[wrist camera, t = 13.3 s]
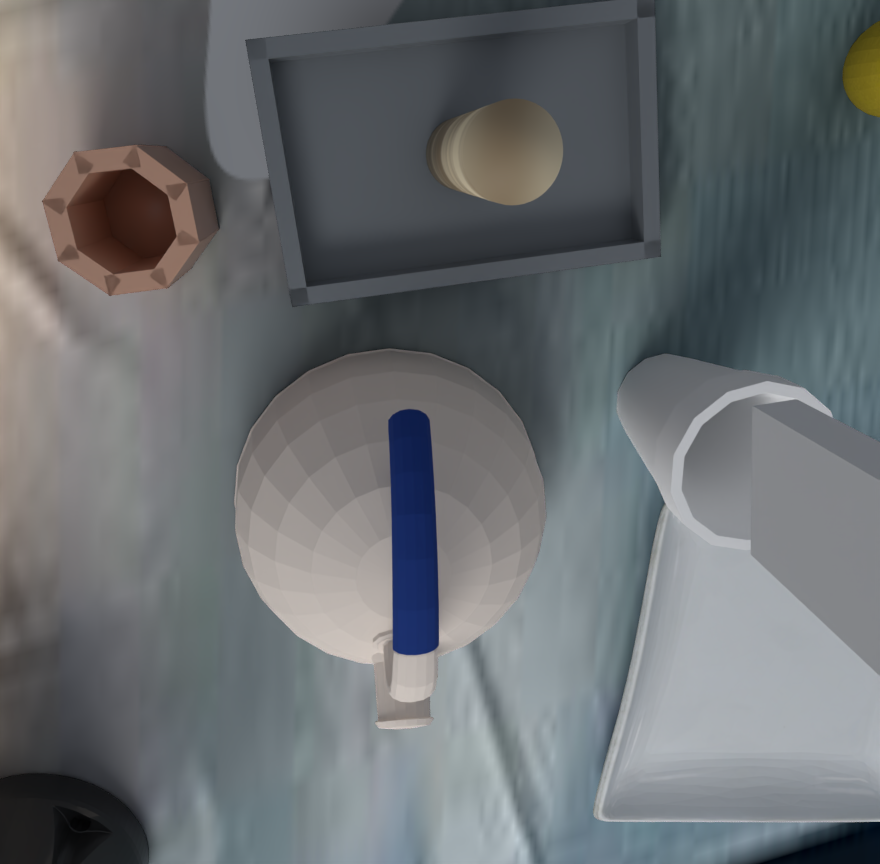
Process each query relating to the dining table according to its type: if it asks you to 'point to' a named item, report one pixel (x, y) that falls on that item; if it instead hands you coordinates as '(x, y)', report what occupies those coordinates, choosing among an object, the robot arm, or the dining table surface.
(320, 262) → the tray
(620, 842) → the dining table surface
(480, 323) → the dining table surface
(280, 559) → the kettle
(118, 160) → the pink octagonal cup
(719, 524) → the foam cup
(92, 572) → the dining table surface
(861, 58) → the lemon
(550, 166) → the peg
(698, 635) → the square plate
